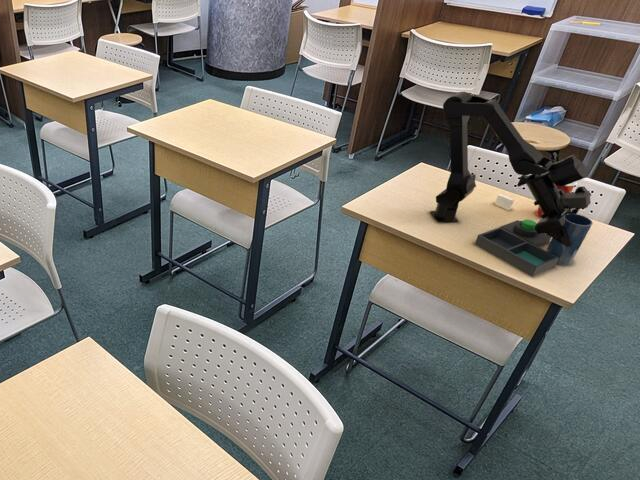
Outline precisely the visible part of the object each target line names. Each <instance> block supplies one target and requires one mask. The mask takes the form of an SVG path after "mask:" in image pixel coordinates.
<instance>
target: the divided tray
mask: <svg viewBox="0 0 640 480" xmlns="http://www.w3.org/2000/svg"><path fill="white" fill-rule="evenodd" d="M474 245H475V246H477V247H478V248H481V249H482V250H484V251H486V252H488V253H490V254H491V255H493V256H495V257H497V258H498V259H499V260H501V261H504V262H505V263H507V264H509V265H510V266H513V267H514V268H516V269H518V270H519V271H521V272H523V273H524V274H527V275H529V276H530V277H532V278H533V277H535V276H537V275H540V274H542V273H544V272H547V271H549V270H552V269H554V268H555V267H556V265H557V264H556V263H557V261H558V259H559V257H557V256H555V255H553V254H551V253H549V252H547V251H546V249H544V248H542V247H540V246H539V247H537V246H536V245H534V244H532V243H530V242H528V241H526V240H524V239H522V238H520V237H518V236H516V235H514V234H512V233H510V232H508V231H506V230H505V229H503V228H501V227H500V226H499V227H497V228H494V229H491V230H488V231H485V232H481V233H479V234H477V237H476V239H475V242H474Z"/></svg>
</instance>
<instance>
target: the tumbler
mask: <svg viewBox="0 0 640 480" xmlns="http://www.w3.org/2000/svg"><path fill="white" fill-rule="evenodd" d="M563 217H564V219H565V222H567V221H568V224H567V226H566V231H567V234H568V236H569V239H570V242H571V246H569V247H566V246H565V245H563V244H562V243H560V242H559V241H557V240H556V239H554V238H552V237H551V239H550V241H549V243H548V246H547V248H546V249H545V251H547V252H549V253H551V254H553V255H555V256H557V257H559V259H558V261H557V263H556V265H559V266H569V265H571V264H572V263H573V261H574V260H575V258H576V256H577V254H578V253H579V250H580V248H581V246H582V244H583V243H584V241H585V239H586V237H587V235H588V234H589V231H590V230H591V227H592V226H593V220H592V219H591V218H589V217H587V216H585V215H582V214H579V213H577V214H573V213H567V214H564V215H563Z"/></svg>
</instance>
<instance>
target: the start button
mask: <svg viewBox="0 0 640 480" xmlns="http://www.w3.org/2000/svg"><path fill="white" fill-rule="evenodd" d="M522 221H523V222H522V224H521V227H522V228H524V229H527V230H534V229H535V226H536V224H537V223H538V222H536V221H535V220H533V219H528V218H527V219H523V220H522Z"/></svg>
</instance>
